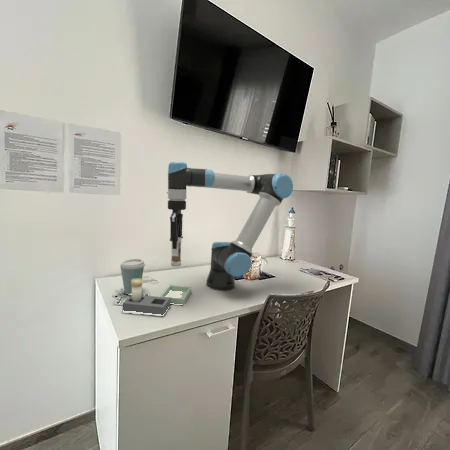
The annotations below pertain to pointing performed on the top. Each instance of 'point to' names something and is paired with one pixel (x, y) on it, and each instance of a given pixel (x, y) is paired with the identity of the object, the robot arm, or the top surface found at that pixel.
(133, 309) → the grey rectangular block
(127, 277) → the disposable coffee cup
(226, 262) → the robot arm
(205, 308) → the top surface
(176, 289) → the parts tray
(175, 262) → the cylinder
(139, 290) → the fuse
